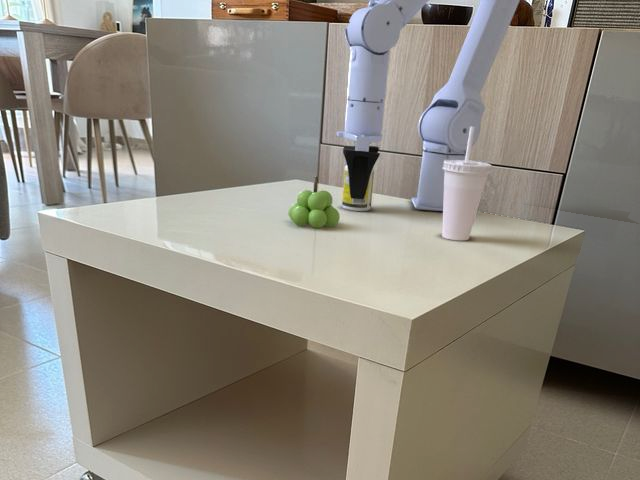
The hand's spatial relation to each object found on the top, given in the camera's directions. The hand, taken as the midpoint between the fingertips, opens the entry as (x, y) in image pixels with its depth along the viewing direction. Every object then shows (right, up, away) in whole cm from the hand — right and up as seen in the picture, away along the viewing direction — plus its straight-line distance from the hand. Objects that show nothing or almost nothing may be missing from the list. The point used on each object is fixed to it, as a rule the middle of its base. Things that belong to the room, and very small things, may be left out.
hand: (357, 195), depth 101 cm
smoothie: (+13, -11, -14) cm, 22 cm away
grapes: (-7, -9, -12) cm, 17 cm away
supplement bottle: (0, -2, +1) cm, 2 cm away
